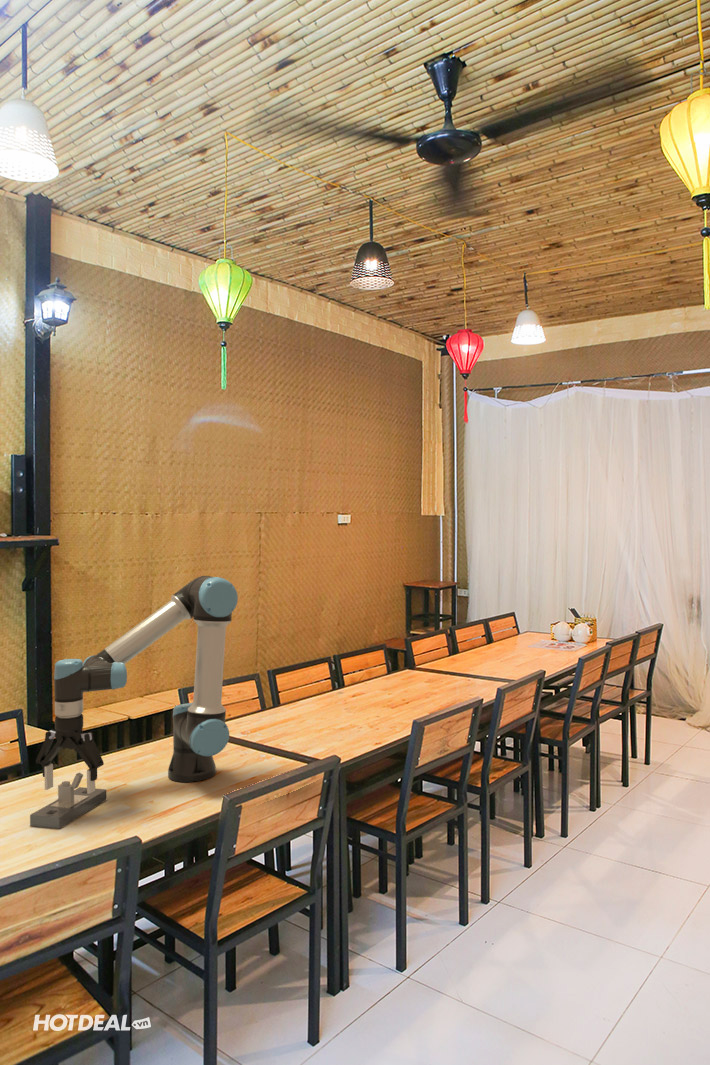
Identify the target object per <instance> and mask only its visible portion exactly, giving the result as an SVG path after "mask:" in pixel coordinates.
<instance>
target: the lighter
mask: <svg viewBox="0 0 710 1065" xmlns="http://www.w3.org/2000/svg"><path fill="white" fill-rule="evenodd" d="M83 777H84V774H83V773H82V772H80V771H79V772H77V773H76V774H75V776H74V778H73V781H72V783H71V782H70V781H67V780H65V781H62V782H61V783H60V784H59V785H57V789H58V790H57V797H58V798H57V800H58V801H63V802H72V801H74V790H76V789H77V788H79V786H80V784H81V781H82V778H83Z"/></svg>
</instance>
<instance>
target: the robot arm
mask: <svg viewBox="0 0 710 1065" xmlns="http://www.w3.org/2000/svg"><path fill="white" fill-rule="evenodd" d="M238 595H239V594H238V592H237V589H236V587H235V586H234V585H233V583H232V582H230V581H229V580H228V579H225V578H223V577H219V576H210V575H200V576H198V577H196V578H194V579H192V580H190V581H189V582H188V583H187V584H185V585H184V586H183V587H181V588H180V589H178V591H176V592H175V593H173V594H171V597H170V600H169V601H168V602H167V603H165V604H164V605H162V606H161V607H160V608H158V609H156V611H154V612H152V614H150V615H149V616H148V617H146V618H145V619H143V620H142V621H140V622H139V623H138V624H136V625H135V626H134V627H133V628H131V629H130V630H128V631H127V632H126V633H124V634H123V635H121V636H119V638H117V639H116V640H115V641H113V642H111V643H110V644H109V645H108V646H107V647H105V648H104V649H103V650H100V652H98V653H97V654H95V655H90V656H88V657H86V658H85V659H84V661H83V659H79V658H65V659H61V660H58V661H56V662H55V663H54V676H53V682H54V683H53V684H54V685H53V686H54V689H53V690H54V715H55V717H54V729H51V730H48V731H46V732H45V734H44V741H43V743H42V746H41V747H40V750H39V753H38V754H37V757H36V759H35V763H36V764H39V765H41V767H42V768H41V769H42V777H44V790H45V791H48V790H50V789H52V788H54V764H53V763H52V762H53V759H55V757H56V756H57V754H58V753H59V752H60V751H61V749H69V750H74V751H75V752H77V753H78V755H79V756H80V758H81V760H83V761H84V763H85V765H86V766H87V767H88V769H86V788H87V794H90V793H92V792H93V791H95V789H96V780H98V769H99V768H100V767H102V766H104V764H105V763H104V760H103V758H102V755H101V754H100V750H99V749H98V746H97V744H96V742H95V739H94V733H93V732H92V731H89V732H86V733H84V732H83V729H84V715H83V713H84V693H89V692H98V691H109V690H113V691H114V690H117V689H122V688H124V687H126V685H127V681H128V672H127V667H126V664H127V663H128V662H130V661H131V660H132V659H134V658H135V657H136V656H137V655H139V654H141V653H142V652H143V651H145V650H146V649H147V648H149V647H150V646H152V645H153V644H154V643H155V642H156V641H158V640H160V639H161V638H162V637H163V636H165V635H166V634H168V633H169V632H170V631H171V630H172V629H174V628H176V626H178V625H179V624H181V623H182V622H183V621H185V620H189V621H190V620H193V621H194V623H195V624H196V626H197V634H196V635H197V637H196V651H195V656H196V657H195V665H194V666H195V667H194V668H195V670H194V683H193V696H192V697H193V702H189V703H187V702H186V703H182V704H177V705H175V706H174V707H173V710H172V726H173V727H172V729H173V731H172V733H173V734H172V736H173V744H172V746H173V748H172V749H173V752H172V757H171V759H170V762H169V766H168V768H167V778H168V779H169V780H171V781H174V782H178V781H179V783H194V782H193V781H196V782H200V781H201V780H202V781H206V780H207V779H208V778H209V779H211V778H213V777H214V776H215V775H216V773H217V768H216V767H217V765H216V763H215V760H214V756H215V755H218V754H220V753H221V752H222V751H223V750H224V749H225V748H226V746H227V745H228V743H229V740H230V729H229V727H228V725H227V723H226V717H227V716H226V715H227V714H226V712H227V709H226V707H224V705H223V704H222V699H223V683H224V681H223V679H224V668H225V667H224V662H225V651H226V650H225V648H226V634H227V633H226V632H227V626H229V625H230V623H232V618H233V611H234V610H235V609H236V607H237V605H238V600H239V599H238V598H239V596H238ZM192 618H193V619H192ZM54 739H55V740H56V743H55V744H54V745H53V747H52V744H53V742H54ZM51 747H52V748H51ZM50 749H51V750H50ZM209 779H208V780H209Z"/></svg>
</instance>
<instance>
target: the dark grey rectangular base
mask: <svg viewBox="0 0 710 1065" xmlns="http://www.w3.org/2000/svg"><path fill="white" fill-rule="evenodd" d="M107 793H108V792H107V789H105V788H103V789H102V788H95V791H93V792H92V793H90V794H87V787H81V786H80V787H79V786H78V787H77V788H76V789H74V801H72V802H63V801H58V799H55V800H54V801H53V802H51V803H49V804H47V805H46V806H43V807H42V808H39V809H38V810H36V811H35V812H33V813H31V814H30V815H29V826H30V827H36V828H47V829H54V830H55V829H56V830H59V829H61V828H63V827H65V826H67V825H68V824H70V823H71V822H73V821H75V820H76V819H78V818H80V817H81V816H83V815H84V814H85V813H88V812H89V811H90V810H92V809H94V808H96V807H97V806H99V805H101V804H102V803H104V802H105V801H107V800H106V799H107ZM103 801H104V802H103ZM95 806H96V807H95Z"/></svg>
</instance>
